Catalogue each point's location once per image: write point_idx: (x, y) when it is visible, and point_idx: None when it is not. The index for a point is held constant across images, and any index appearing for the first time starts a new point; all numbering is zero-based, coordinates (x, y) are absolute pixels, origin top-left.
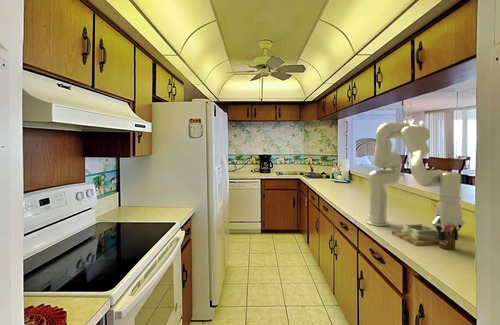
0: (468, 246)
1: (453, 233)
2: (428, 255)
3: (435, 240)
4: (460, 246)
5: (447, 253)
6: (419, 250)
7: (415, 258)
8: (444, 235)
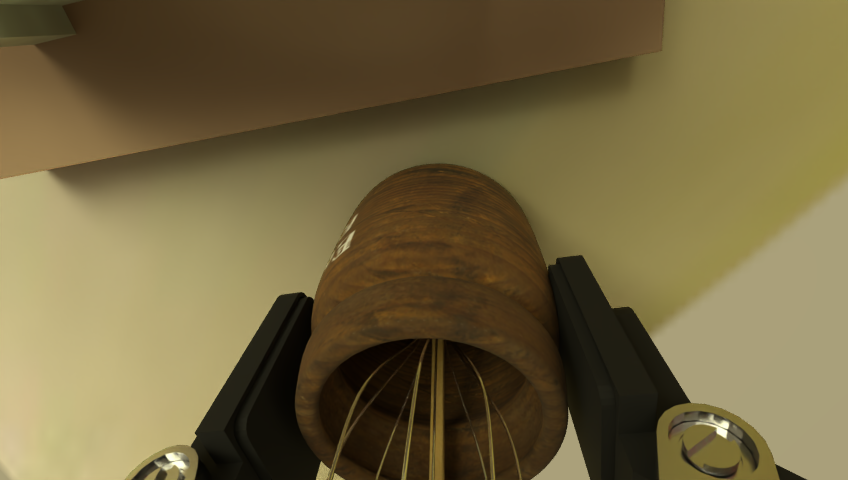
0: (825, 170)
1: (524, 472)
2: (147, 423)
3: (357, 58)
4: (691, 175)
5: None
6: (81, 322)
7: (36, 465)
8: (313, 464)
